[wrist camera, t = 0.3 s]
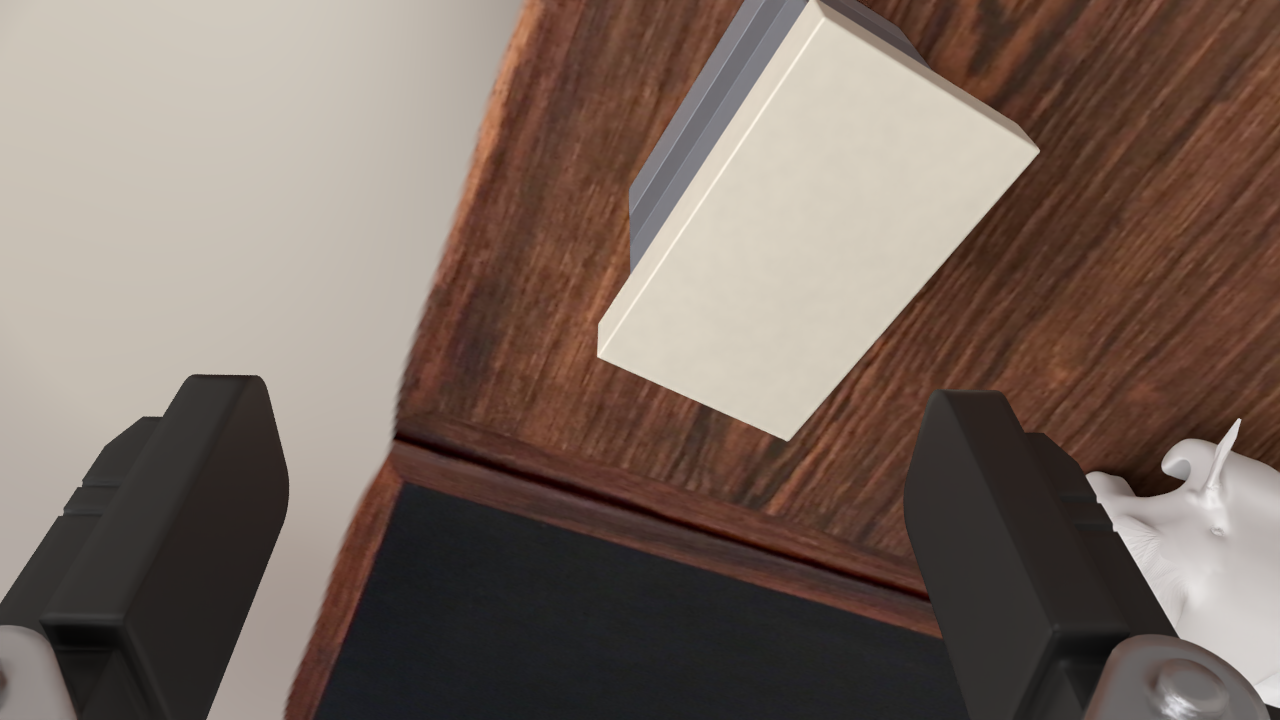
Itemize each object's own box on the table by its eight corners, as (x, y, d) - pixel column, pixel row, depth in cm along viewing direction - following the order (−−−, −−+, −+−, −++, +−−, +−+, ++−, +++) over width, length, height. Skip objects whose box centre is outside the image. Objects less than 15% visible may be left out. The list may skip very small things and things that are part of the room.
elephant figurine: (1341, 430, 35) (1525, 623, 28) (1123, 619, 42) (1228, 816, 35) (1145, 348, 33) (1292, 537, 26) (945, 562, 39) (1018, 761, 32)
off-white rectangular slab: (811, -6, 19) (824, 16, 17) (1018, 124, 20) (1042, 151, 19) (597, 324, 23) (596, 357, 22) (781, 408, 25) (788, 443, 24)
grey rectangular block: (775, -52, 25) (823, 33, 19) (899, 27, 26) (980, 129, 20) (627, 189, 29) (630, 320, 23) (741, 248, 30) (771, 385, 24)
